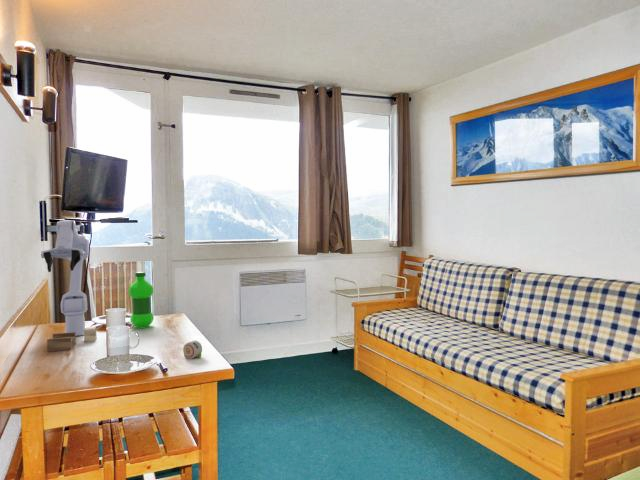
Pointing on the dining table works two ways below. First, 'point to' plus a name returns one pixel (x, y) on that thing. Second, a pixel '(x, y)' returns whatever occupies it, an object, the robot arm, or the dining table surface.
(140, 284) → the plastic bottle
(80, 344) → the dining table surface
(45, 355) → the dining table surface
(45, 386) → the dining table surface
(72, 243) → the robot arm
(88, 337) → the birch block
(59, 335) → the walnut cradle
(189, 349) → the roller toy
